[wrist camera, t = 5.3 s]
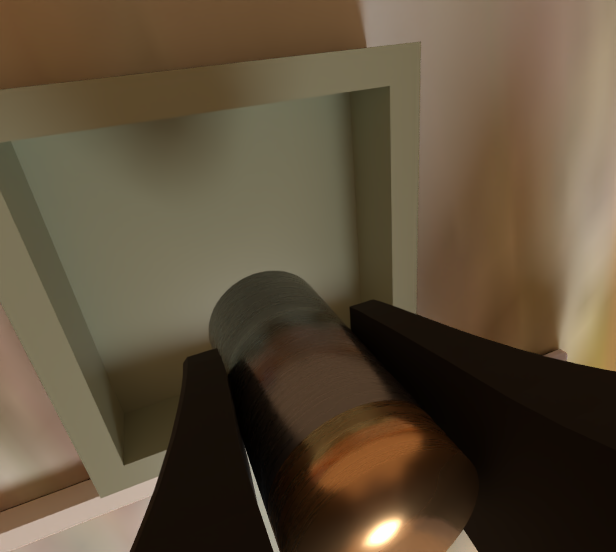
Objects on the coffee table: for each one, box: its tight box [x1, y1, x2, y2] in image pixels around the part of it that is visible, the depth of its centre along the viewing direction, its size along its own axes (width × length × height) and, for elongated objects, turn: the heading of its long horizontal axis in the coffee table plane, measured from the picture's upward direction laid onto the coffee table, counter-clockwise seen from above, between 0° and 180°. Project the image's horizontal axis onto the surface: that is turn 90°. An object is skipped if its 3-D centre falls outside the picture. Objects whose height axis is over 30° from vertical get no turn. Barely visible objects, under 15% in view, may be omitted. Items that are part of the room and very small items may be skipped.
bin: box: [0, 42, 421, 498], centre depth 14 cm, size 12×12×3 cm
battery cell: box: [208, 271, 479, 552], centre depth 8 cm, size 3×3×6 cm
